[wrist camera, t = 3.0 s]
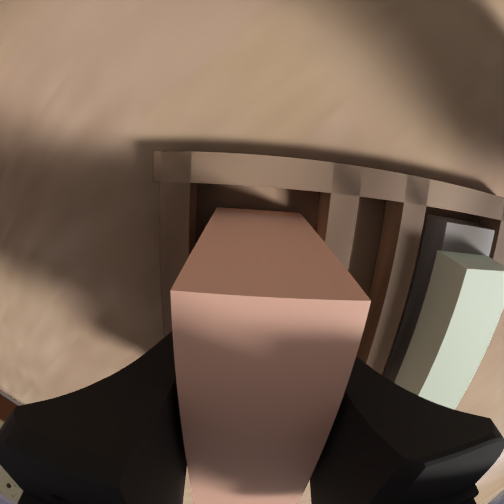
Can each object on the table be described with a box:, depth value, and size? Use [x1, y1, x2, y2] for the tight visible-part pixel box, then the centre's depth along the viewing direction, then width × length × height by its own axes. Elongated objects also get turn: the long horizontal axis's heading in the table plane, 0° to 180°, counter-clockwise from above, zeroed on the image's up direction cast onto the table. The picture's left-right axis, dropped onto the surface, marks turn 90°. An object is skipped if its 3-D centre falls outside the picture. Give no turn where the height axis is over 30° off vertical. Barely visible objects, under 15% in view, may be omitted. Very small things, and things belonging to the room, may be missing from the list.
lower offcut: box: [383, 214, 495, 382], centre depth 12 cm, size 3×9×2 cm, turn 175°
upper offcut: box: [394, 250, 504, 410], centre depth 10 cm, size 3×7×2 cm, turn 175°
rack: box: [153, 151, 504, 375], centre depth 12 cm, size 15×12×2 cm
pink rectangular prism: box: [170, 207, 371, 504], centre depth 9 cm, size 3×8×7 cm, turn 176°
